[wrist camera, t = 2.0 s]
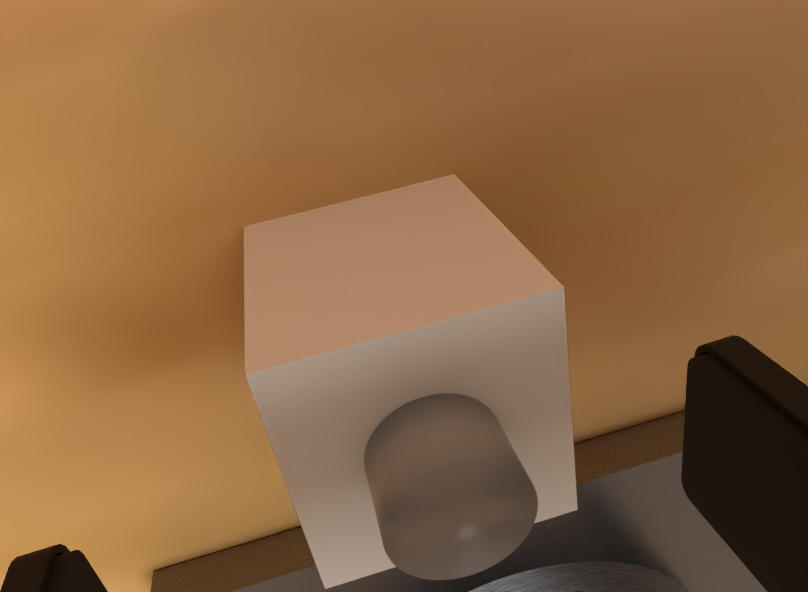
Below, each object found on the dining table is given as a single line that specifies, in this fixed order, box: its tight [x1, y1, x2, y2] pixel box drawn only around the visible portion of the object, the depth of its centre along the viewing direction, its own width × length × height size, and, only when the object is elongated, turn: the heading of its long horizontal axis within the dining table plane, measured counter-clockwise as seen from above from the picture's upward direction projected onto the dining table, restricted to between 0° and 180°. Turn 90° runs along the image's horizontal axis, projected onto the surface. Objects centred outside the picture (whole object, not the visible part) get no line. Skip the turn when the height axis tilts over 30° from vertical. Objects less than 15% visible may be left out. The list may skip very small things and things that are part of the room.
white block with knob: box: [244, 174, 578, 589], centre depth 13 cm, size 5×5×8 cm
